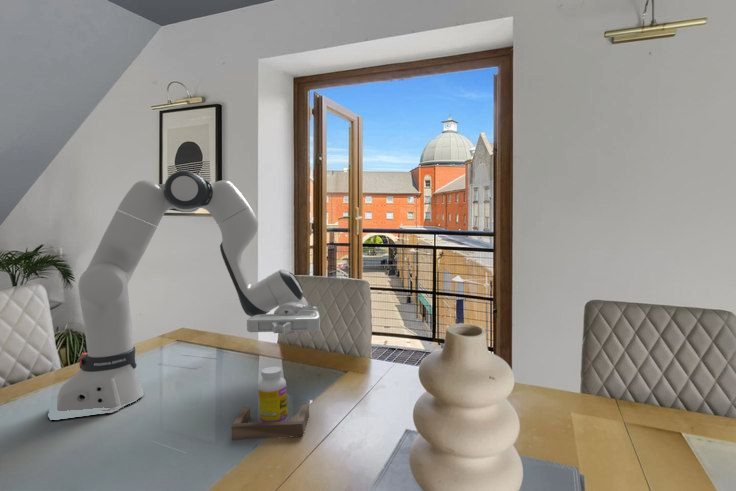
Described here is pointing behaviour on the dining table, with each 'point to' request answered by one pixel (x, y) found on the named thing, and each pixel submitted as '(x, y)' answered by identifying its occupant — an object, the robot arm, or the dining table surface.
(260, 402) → the supplement bottle
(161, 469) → the dining table surface
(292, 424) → the walnut bay
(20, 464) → the dining table surface
